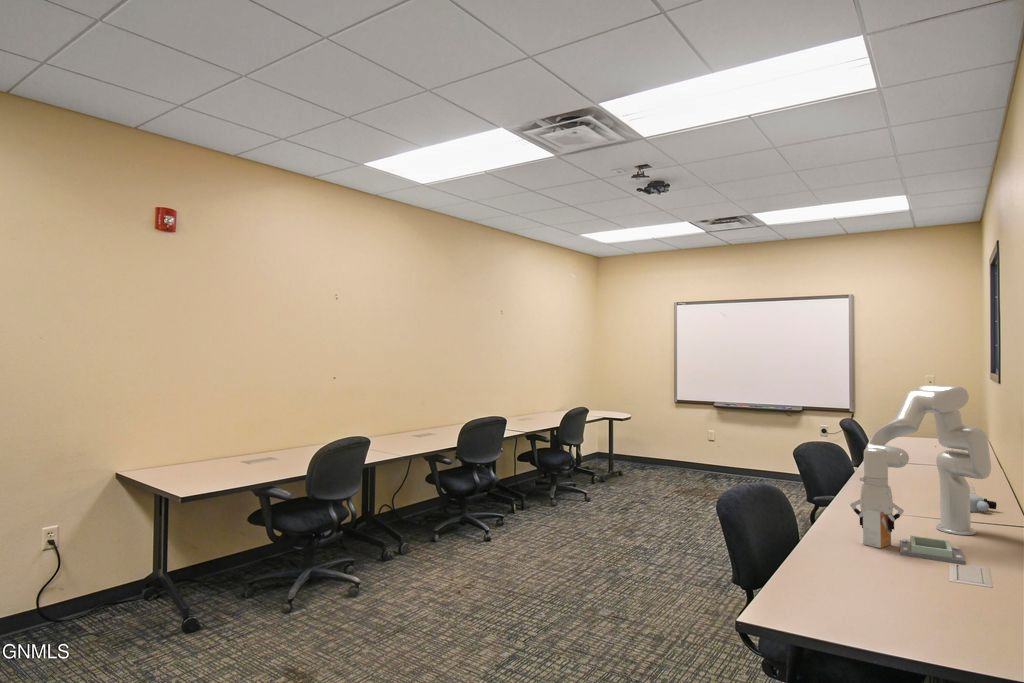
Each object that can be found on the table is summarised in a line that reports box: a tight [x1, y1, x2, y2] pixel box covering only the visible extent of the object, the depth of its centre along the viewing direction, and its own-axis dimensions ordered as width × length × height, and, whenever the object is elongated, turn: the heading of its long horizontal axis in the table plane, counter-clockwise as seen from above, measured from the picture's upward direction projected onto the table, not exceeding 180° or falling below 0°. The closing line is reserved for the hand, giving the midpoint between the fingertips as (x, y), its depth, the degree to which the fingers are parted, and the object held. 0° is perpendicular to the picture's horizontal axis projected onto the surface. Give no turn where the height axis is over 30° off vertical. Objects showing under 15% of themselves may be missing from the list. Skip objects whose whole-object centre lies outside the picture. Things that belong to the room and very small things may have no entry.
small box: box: [862, 510, 892, 549], centre depth 217 cm, size 8×6×13 cm
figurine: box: [970, 492, 997, 513], centre depth 267 cm, size 17×8×20 cm
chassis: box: [899, 535, 966, 565], centre depth 207 cm, size 15×18×4 cm
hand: (876, 529), depth 217 cm, fingers closed on small box, 8 cm apart
